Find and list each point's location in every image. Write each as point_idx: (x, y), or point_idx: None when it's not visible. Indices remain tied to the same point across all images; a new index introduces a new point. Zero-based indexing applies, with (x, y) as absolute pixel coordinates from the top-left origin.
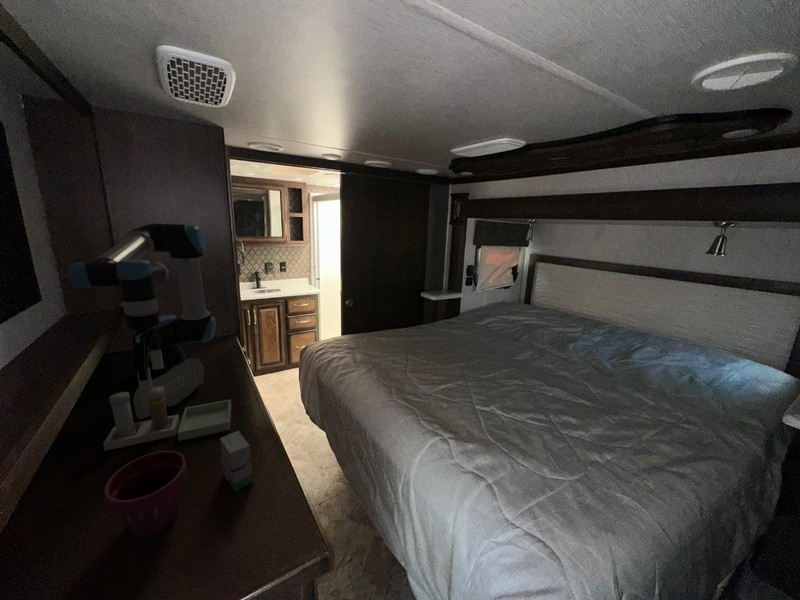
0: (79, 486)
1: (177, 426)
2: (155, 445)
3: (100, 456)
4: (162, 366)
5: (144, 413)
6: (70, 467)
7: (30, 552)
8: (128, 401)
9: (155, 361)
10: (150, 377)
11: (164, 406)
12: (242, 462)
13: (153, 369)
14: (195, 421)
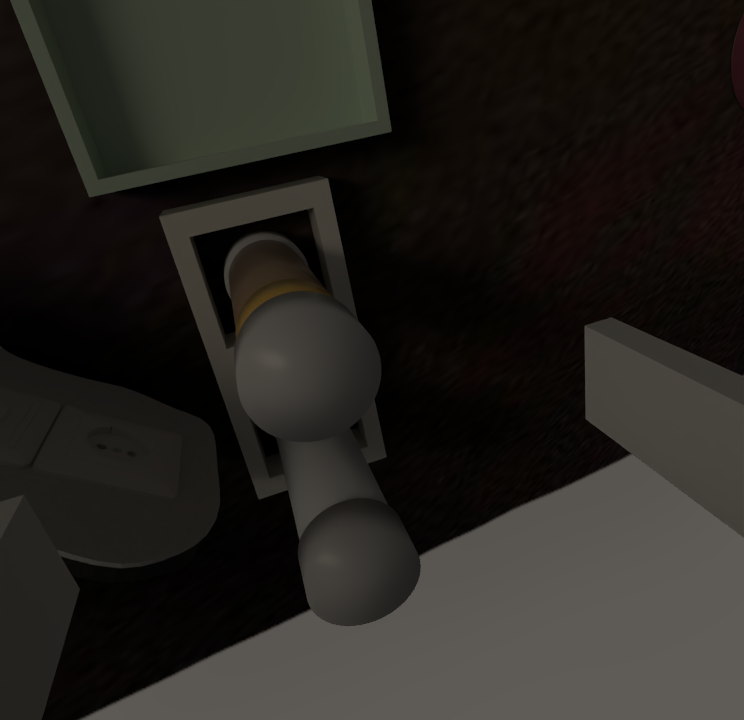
0: (548, 392)
1: (240, 193)
2: (383, 243)
3: (407, 430)
4: (12, 522)
5: (171, 422)
6: (444, 485)
7: (737, 347)
8: (349, 500)
9: (15, 674)
10: (713, 379)
11: (290, 270)
12: None
13: (73, 588)
14: (199, 88)
